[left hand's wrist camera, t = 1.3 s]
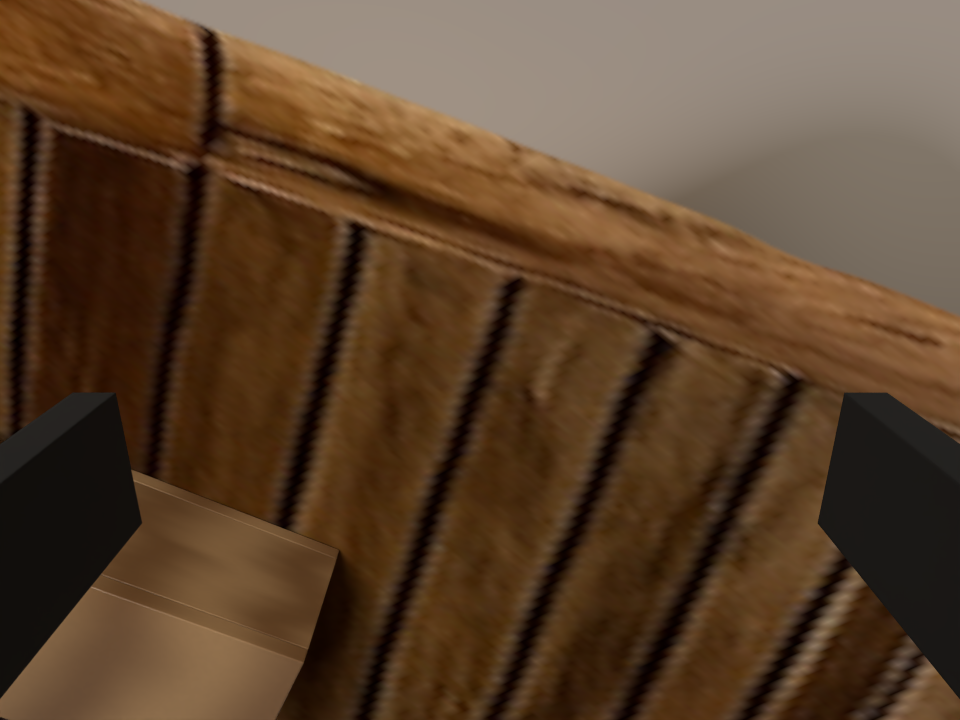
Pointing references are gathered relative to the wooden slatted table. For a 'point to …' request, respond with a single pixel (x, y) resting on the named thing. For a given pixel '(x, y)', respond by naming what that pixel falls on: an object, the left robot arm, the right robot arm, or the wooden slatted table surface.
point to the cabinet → (183, 620)
